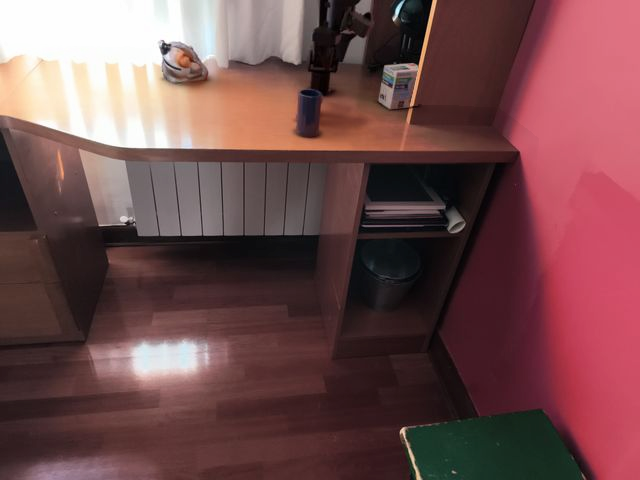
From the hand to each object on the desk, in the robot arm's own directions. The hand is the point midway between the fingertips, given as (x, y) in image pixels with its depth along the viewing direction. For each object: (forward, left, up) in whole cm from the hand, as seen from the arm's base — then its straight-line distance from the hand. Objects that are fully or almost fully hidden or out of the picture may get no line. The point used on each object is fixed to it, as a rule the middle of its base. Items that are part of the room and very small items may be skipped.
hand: (334, 66), depth 116 cm
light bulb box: (-20, +14, -13) cm, 28 cm away
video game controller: (+4, -4, -13) cm, 14 cm away
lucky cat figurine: (0, -47, -13) cm, 49 cm away
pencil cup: (+14, 0, -13) cm, 19 cm away
